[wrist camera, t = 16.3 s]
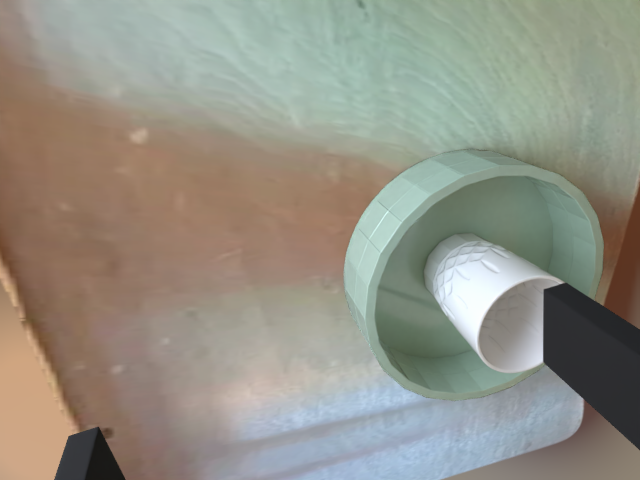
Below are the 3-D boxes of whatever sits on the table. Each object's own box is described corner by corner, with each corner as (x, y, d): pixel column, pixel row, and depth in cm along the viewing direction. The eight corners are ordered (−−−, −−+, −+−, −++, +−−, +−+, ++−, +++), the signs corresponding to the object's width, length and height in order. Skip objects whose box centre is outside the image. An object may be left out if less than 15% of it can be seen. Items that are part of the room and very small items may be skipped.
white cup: (513, 243, 43) (597, 295, 34) (468, 316, 45) (537, 384, 36) (445, 212, 40) (516, 260, 31) (400, 291, 42) (456, 358, 33)
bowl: (353, 148, 37) (379, 165, 32) (577, 150, 42) (634, 165, 36) (335, 369, 44) (355, 413, 39) (528, 349, 49) (569, 386, 44)
